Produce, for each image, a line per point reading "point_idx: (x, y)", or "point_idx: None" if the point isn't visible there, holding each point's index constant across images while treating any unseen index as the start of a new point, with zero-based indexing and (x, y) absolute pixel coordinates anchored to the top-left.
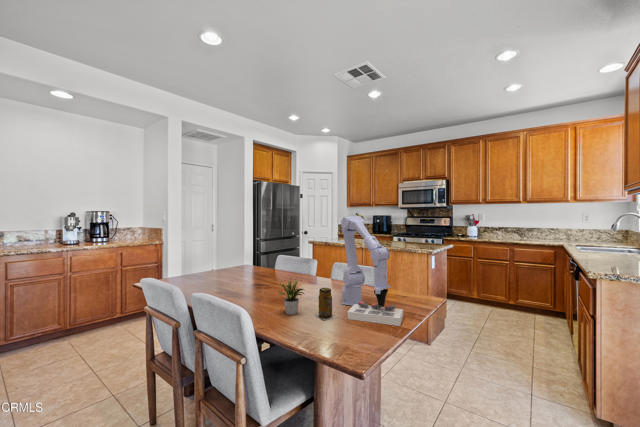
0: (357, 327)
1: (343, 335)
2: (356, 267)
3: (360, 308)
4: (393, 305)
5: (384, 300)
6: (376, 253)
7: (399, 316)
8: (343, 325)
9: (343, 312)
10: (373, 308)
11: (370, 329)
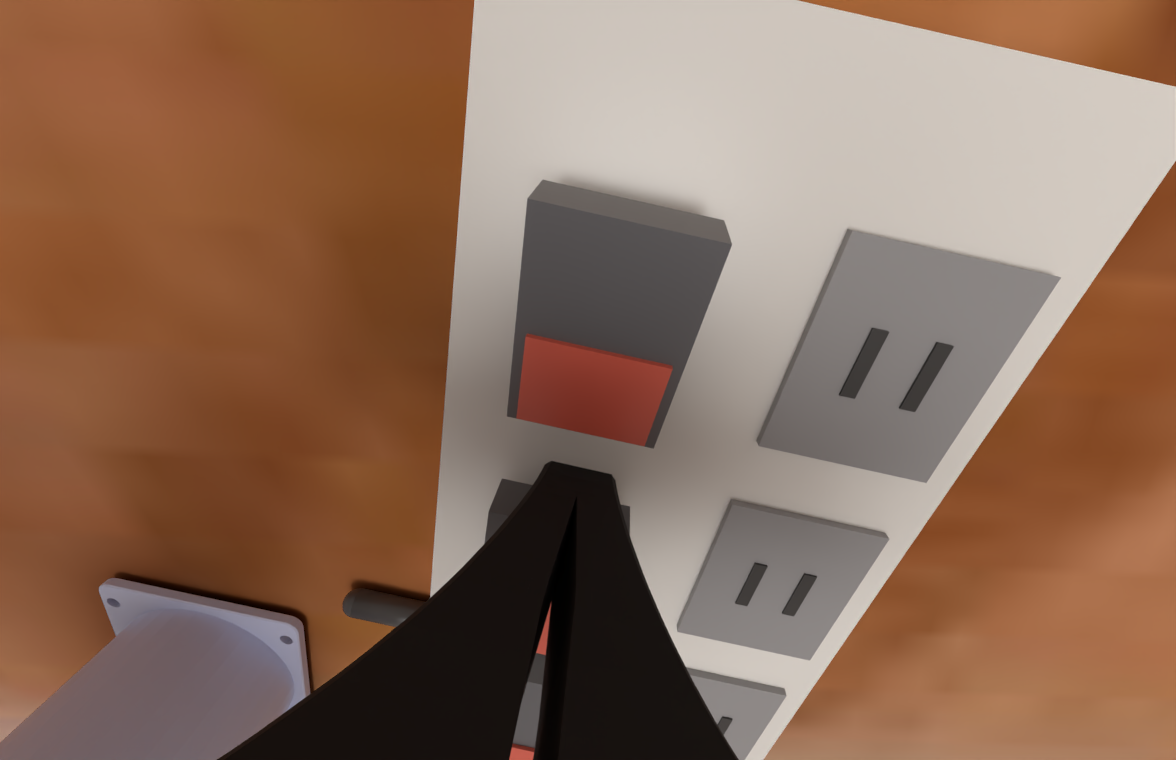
0: (963, 654)
1: (1150, 750)
2: None
3: None
4: (556, 247)
5: (645, 591)
6: None
7: (1078, 95)
8: (886, 743)
9: None
10: None
11: (1061, 546)
